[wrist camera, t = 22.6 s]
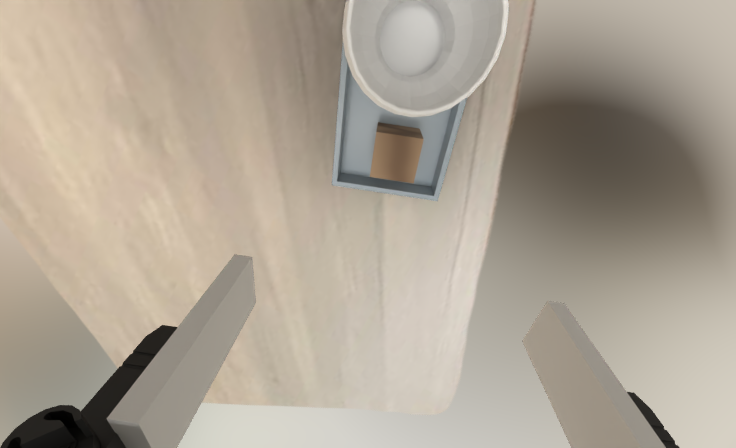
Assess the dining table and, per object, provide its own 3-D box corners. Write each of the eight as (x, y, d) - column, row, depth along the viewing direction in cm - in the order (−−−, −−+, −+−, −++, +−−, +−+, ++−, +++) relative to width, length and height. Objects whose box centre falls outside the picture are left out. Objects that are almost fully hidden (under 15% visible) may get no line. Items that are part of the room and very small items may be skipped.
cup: (418, -56, 26) (446, -164, 13) (483, 44, 30) (554, 36, 17) (338, 38, 30) (299, 26, 18) (403, 117, 34) (411, 155, 21)
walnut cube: (372, 162, 37) (369, 176, 33) (378, 122, 34) (376, 131, 30) (410, 168, 37) (413, 183, 33) (419, 128, 34) (423, 139, 30)
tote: (353, -31, 28) (349, -42, 25) (488, -10, 28) (499, -18, 25) (336, 175, 39) (331, 185, 36) (433, 189, 39) (437, 201, 36)
